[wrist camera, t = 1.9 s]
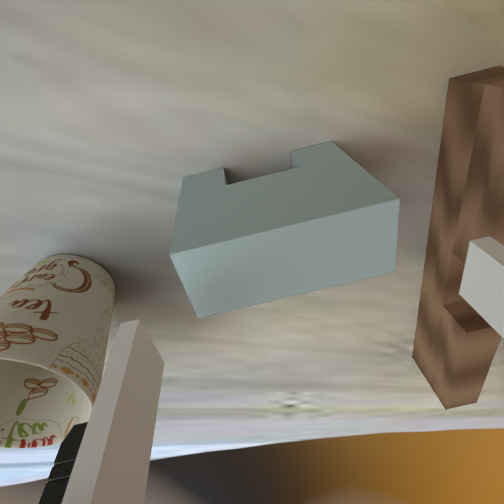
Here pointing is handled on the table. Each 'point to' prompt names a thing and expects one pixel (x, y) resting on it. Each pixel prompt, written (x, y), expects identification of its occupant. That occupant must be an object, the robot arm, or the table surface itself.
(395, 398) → the table surface
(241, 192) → the blue-grey notched block
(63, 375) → the mug
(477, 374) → the walnut rail
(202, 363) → the table surface
